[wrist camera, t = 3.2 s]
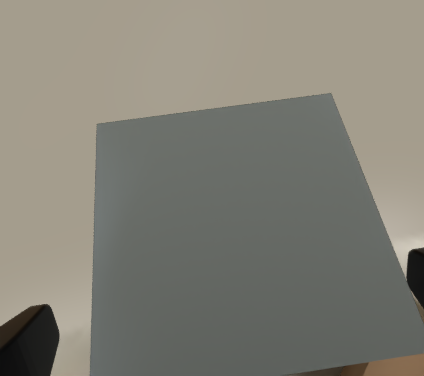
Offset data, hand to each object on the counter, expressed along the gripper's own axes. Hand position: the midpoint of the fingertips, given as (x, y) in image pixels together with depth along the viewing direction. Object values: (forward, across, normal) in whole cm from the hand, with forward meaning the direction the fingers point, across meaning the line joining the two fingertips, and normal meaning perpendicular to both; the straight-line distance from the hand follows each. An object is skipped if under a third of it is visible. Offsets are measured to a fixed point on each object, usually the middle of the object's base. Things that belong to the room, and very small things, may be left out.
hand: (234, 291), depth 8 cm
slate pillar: (+6, 0, +6) cm, 8 cm away
